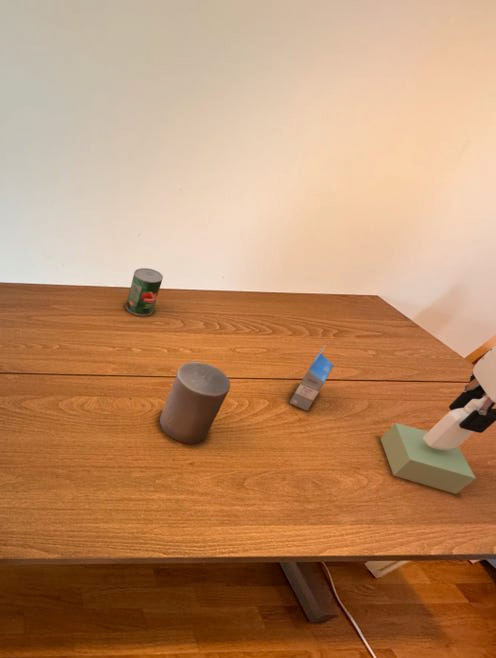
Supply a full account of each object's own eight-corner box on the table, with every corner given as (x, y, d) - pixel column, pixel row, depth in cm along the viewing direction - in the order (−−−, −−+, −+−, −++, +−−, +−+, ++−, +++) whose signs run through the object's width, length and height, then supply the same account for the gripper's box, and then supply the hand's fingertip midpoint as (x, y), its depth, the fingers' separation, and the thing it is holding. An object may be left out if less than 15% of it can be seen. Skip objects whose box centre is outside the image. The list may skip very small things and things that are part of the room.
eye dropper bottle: (460, 457, 76) (512, 412, 69) (423, 445, 78) (470, 399, 71) (453, 441, 79) (503, 395, 72) (418, 430, 81) (462, 384, 74)
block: (437, 454, 85) (454, 438, 82) (456, 494, 78) (476, 478, 75) (380, 438, 88) (395, 422, 85) (393, 475, 81) (410, 459, 77)
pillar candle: (215, 442, 85) (244, 388, 76) (171, 446, 84) (194, 392, 74) (192, 407, 92) (216, 354, 83) (151, 411, 91) (170, 357, 81)
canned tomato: (147, 318, 119) (157, 284, 112) (121, 309, 122) (129, 275, 115) (156, 307, 125) (166, 273, 118) (131, 298, 128) (140, 265, 121)
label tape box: (306, 411, 93) (336, 369, 85) (287, 402, 95) (314, 360, 87) (316, 392, 98) (345, 351, 90) (298, 384, 100) (324, 343, 92)
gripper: (621, 377, 56) (512, 462, 68) (552, 315, 68) (470, 396, 80) (550, 362, 58) (456, 447, 70) (495, 304, 70) (423, 384, 82)
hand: (464, 419), depth 75 cm, fingers closed on eye dropper bottle, 4 cm apart
